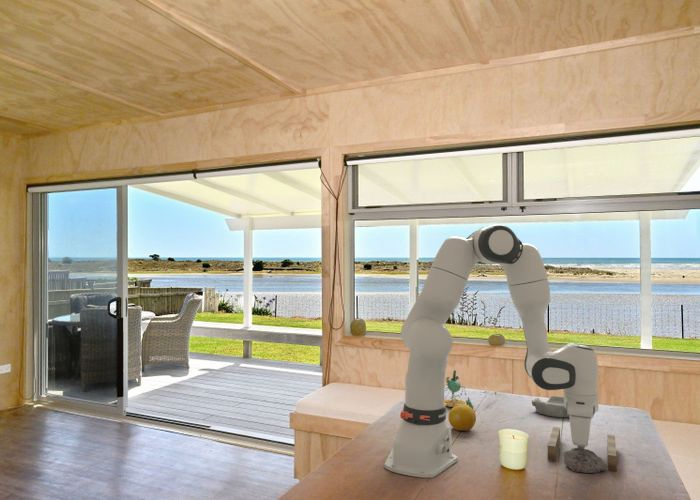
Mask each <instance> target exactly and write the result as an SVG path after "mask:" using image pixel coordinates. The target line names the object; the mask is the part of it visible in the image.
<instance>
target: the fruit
mask: <svg viewBox="0 0 700 500" xmlns="http://www.w3.org/2000/svg"><path fill="white" fill-rule="evenodd" d="M474 410H475V409H474ZM474 410H473V409H472V408H471V407H469V405H457V406H455V407H451V409H449V412H448V416H447V417H448V423H449V424H450V425H451V427H452V428H453V429H455V430H456V431H460V432H461V431H462V432H465V431H469V430H471V429H473V428H474V427H475V424H476V421H477V416H476V412H475V411H474Z"/></svg>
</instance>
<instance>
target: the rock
mask: <svg viewBox="0 0 700 500" xmlns="http://www.w3.org/2000/svg"><path fill="white" fill-rule="evenodd" d="M563 458H564V459H563V460H564V461H563V462H564V464H565V466H566V467H568V468H569V469H570V470H571V471H573V472H576V473H577V472H578V473H583V474H584V473H585V474H592V473H594V474H595V473H596V474H597V473H600V472H603V471H606V470H608V463H605V461H604V459H603V458H601V456H598V455H597V454H596V453H595V452H594V451H593V450H590V449H586V448H585V449H582V448H577V447H573V448H570V450H566V451H563Z"/></svg>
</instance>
